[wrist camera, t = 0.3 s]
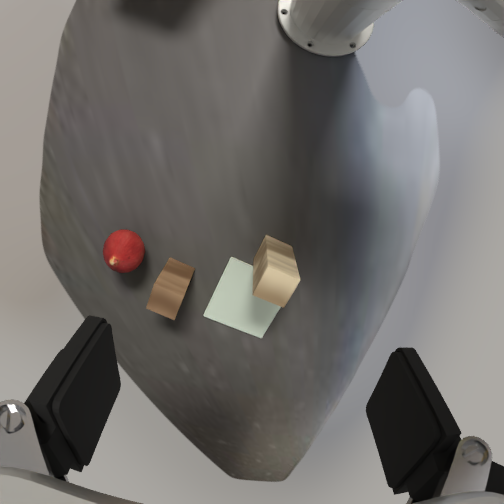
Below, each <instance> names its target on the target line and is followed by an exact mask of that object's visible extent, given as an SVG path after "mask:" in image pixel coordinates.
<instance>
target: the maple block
mask: <svg viewBox="0 0 504 504" xmlns="http://www.w3.org/2000/svg"><path fill="white" fill-rule="evenodd" d="M299 282H300V276H299V272H298V268H297V264H296V260H295V256H294V252H293V248H292V246H290V245H288V244H286V243H284V242H281V241H279V240H277V239H275V238H272V237H270V236H268V235H266V236H265V237H264V239H263V241H262V243H261V245H260V247H259V249H258V251H257V253H256V255H255V257H254V261H253V293H252V295H253V296H256V297H258V298H261V299H263V300H266V301H268V302H271V303H273V304H276V305H278V306H281V307H283V308H284V307H285V305H286V303H287V302H288V300H289V298H290V297H291V295H292V293H293V292H294V290H295V288H296V287H297V285H298V283H299Z"/></svg>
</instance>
